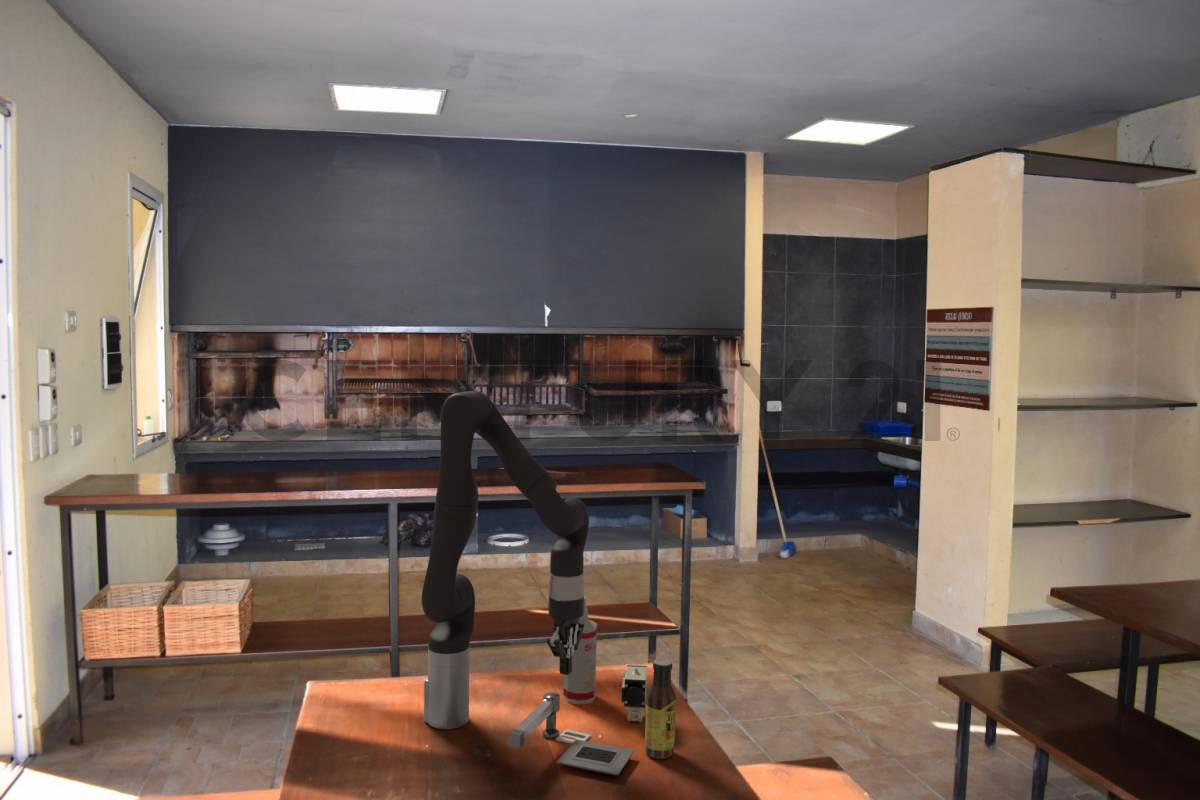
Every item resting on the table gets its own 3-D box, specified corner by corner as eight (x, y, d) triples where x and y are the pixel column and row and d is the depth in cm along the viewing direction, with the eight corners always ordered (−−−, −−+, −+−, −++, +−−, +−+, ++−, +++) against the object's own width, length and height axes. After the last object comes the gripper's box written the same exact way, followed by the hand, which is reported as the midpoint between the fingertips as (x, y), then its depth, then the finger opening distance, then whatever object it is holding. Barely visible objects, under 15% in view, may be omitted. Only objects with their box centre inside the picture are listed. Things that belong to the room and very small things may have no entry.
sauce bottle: (670, 763, 186) (673, 669, 184) (641, 758, 188) (643, 665, 186) (677, 749, 192) (680, 658, 190) (648, 744, 194) (651, 655, 192)
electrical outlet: (633, 759, 188) (634, 748, 187) (618, 783, 178) (618, 772, 178) (575, 748, 192) (575, 737, 192) (556, 771, 182) (557, 760, 182)
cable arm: (546, 704, 199) (547, 691, 198) (562, 707, 198) (562, 694, 197) (505, 746, 179) (505, 732, 178) (522, 749, 177) (522, 735, 177)
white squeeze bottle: (567, 689, 222) (569, 590, 220) (596, 692, 221) (599, 592, 218) (561, 703, 214) (563, 600, 212) (592, 705, 213) (594, 602, 211)
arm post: (539, 737, 196) (540, 712, 196) (547, 730, 199) (547, 705, 199) (554, 740, 195) (554, 715, 194) (561, 733, 198) (562, 708, 197)
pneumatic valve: (645, 708, 212) (647, 659, 211) (644, 730, 200) (645, 678, 199) (622, 707, 212) (623, 658, 211) (619, 729, 201) (620, 677, 200)
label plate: (555, 740, 195) (556, 738, 195) (566, 730, 199) (566, 728, 199) (580, 746, 192) (580, 743, 192) (590, 736, 197) (590, 734, 197)
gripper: (565, 583, 197) (564, 660, 198) (535, 599, 185) (534, 681, 186) (596, 588, 194) (595, 666, 195) (567, 604, 182) (566, 687, 183)
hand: (565, 673), depth 191 cm, fingers closed
